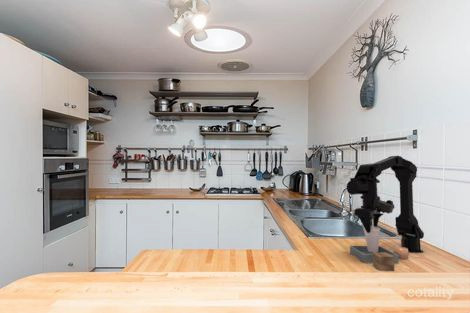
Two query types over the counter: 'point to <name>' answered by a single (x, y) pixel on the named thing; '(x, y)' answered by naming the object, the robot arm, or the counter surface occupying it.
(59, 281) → the counter surface
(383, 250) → the tray
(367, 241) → the smoothie
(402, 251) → the brown short cylinder
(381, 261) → the walnut block
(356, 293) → the counter surface
